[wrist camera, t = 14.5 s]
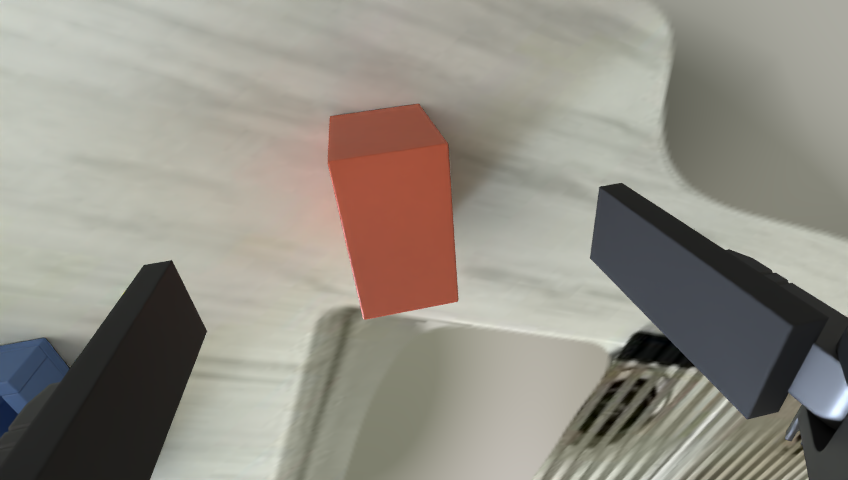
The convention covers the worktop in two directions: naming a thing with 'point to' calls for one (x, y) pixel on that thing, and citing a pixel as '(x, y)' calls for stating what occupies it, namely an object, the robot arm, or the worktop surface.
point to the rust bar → (395, 208)
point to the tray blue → (28, 370)
